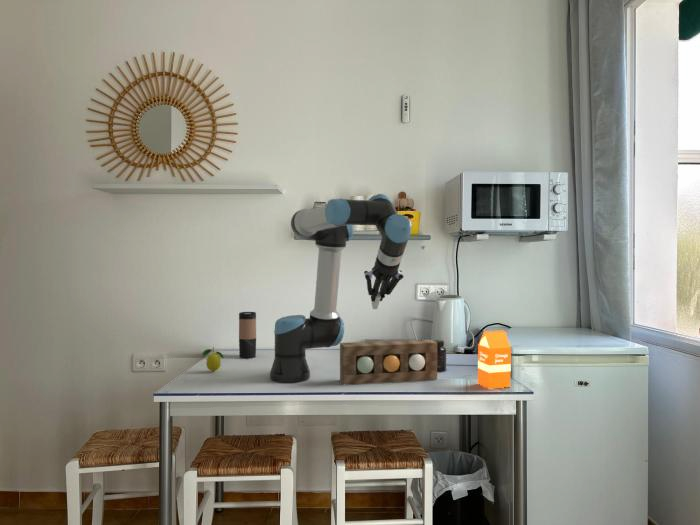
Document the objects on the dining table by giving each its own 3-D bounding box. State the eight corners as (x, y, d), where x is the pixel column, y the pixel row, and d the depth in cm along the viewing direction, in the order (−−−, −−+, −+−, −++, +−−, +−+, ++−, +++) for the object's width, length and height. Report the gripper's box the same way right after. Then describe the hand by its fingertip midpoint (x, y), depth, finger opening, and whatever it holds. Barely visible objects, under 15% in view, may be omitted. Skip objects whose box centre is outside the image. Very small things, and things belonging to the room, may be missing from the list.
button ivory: (409, 370, 191) (409, 354, 191) (407, 369, 194) (407, 353, 194) (425, 370, 192) (425, 354, 192) (422, 368, 195) (422, 352, 195)
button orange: (384, 372, 189) (384, 356, 189) (381, 370, 192) (381, 354, 192) (399, 371, 190) (399, 355, 190) (397, 369, 193) (397, 353, 193)
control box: (343, 384, 186) (343, 346, 186) (339, 379, 193) (340, 342, 193) (437, 379, 194) (437, 342, 194) (430, 375, 201) (430, 339, 200)
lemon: (201, 372, 203) (201, 347, 203) (212, 369, 208) (211, 344, 208) (214, 374, 200) (214, 349, 200) (224, 371, 205) (224, 346, 205)
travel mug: (258, 355, 235) (258, 311, 234) (253, 359, 228) (253, 314, 227) (242, 354, 236) (241, 311, 235) (236, 358, 228) (236, 313, 228)
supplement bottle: (428, 367, 213) (428, 339, 212) (444, 368, 212) (445, 339, 212) (430, 372, 206) (430, 342, 205) (447, 372, 205) (447, 342, 205)
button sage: (357, 373, 187) (357, 357, 186) (355, 371, 190) (355, 355, 189) (373, 372, 188) (373, 356, 188) (371, 370, 191) (371, 354, 191)
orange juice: (510, 387, 184) (511, 332, 183) (488, 389, 181) (489, 333, 180) (498, 382, 191) (499, 328, 190) (477, 383, 188) (477, 329, 188)
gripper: (370, 267, 154) (357, 315, 171) (411, 267, 157) (394, 314, 174) (366, 249, 159) (353, 297, 176) (406, 249, 162) (390, 297, 179)
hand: (374, 305), depth 175 cm, fingers closed
